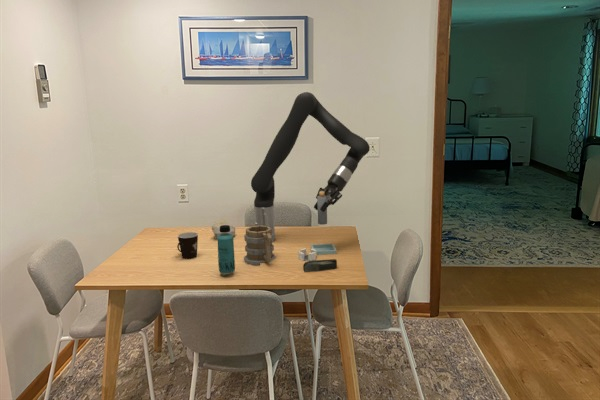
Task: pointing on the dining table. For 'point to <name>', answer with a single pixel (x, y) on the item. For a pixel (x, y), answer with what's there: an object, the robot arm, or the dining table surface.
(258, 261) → the tankard
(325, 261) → the mobile phone
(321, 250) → the tray
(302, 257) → the round holder stand
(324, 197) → the grey tan rounded cylinder
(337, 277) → the dining table surface
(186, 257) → the coffee mug
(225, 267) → the beverage bottle
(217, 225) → the fossil replica
